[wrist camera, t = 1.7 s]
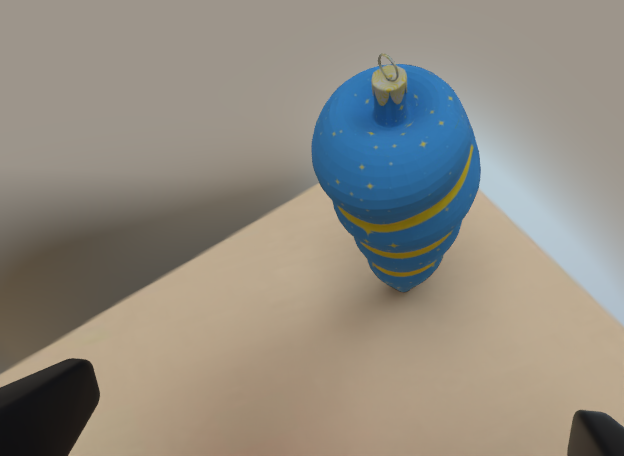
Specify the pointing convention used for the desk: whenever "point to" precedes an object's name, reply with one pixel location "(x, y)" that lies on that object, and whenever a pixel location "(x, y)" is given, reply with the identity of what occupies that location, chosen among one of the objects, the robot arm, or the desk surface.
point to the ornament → (397, 167)
